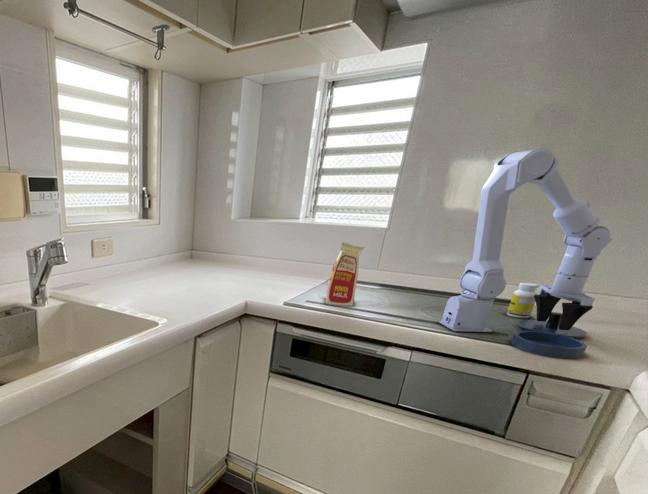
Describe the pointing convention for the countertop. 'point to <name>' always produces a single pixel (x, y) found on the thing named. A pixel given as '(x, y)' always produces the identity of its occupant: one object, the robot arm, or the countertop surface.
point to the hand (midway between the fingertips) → (552, 325)
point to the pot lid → (552, 326)
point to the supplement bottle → (522, 301)
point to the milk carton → (344, 276)
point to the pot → (549, 344)
